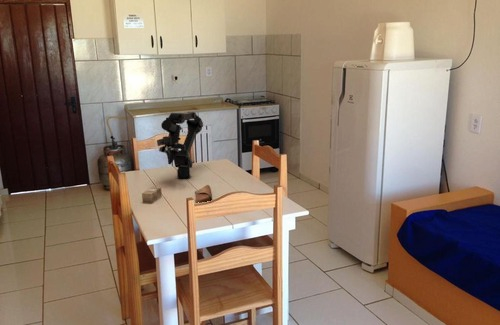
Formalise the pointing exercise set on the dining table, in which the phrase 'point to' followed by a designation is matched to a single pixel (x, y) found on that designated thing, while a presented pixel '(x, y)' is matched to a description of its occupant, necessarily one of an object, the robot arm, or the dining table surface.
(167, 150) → the robot arm
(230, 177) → the dining table surface
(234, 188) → the dining table surface
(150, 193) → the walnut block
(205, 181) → the dining table surface
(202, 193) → the sunglasses case
